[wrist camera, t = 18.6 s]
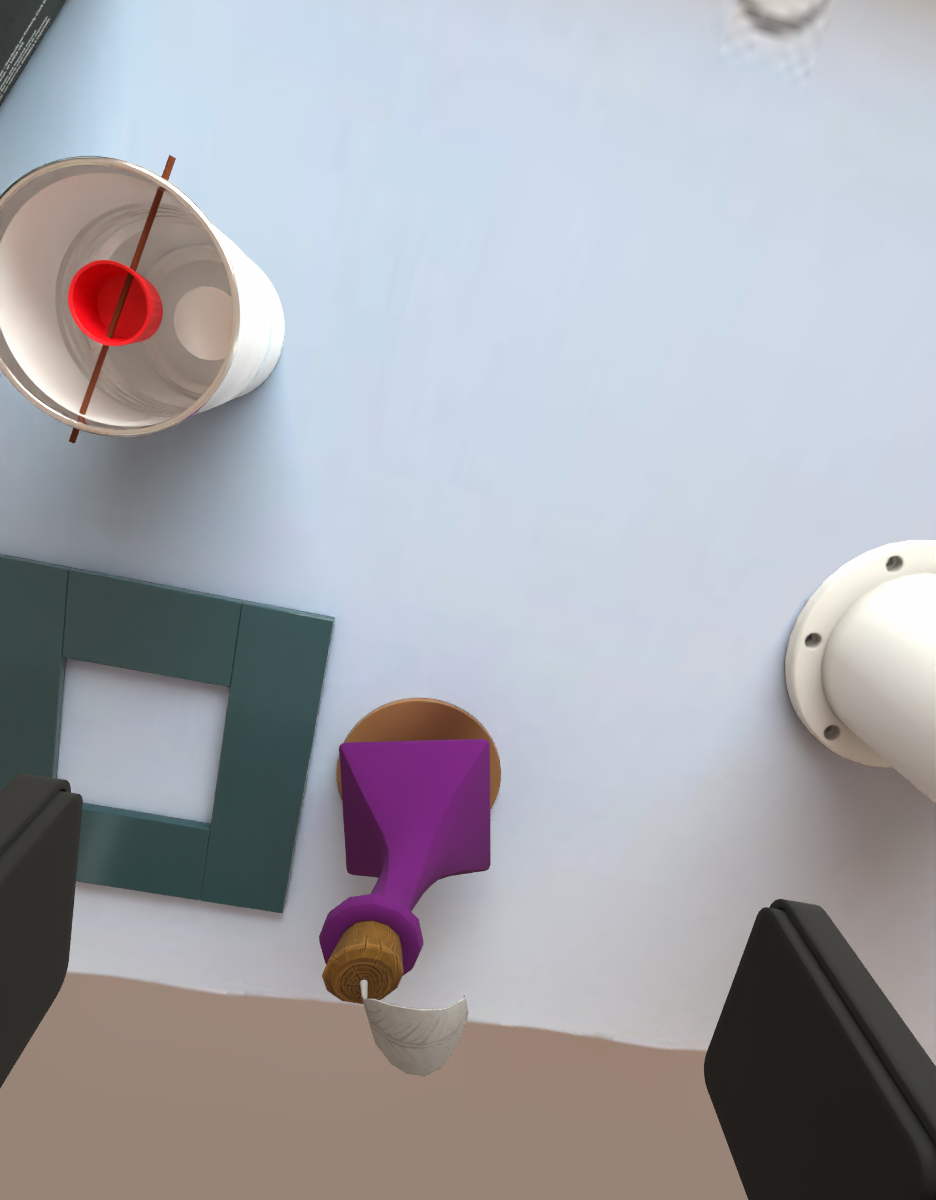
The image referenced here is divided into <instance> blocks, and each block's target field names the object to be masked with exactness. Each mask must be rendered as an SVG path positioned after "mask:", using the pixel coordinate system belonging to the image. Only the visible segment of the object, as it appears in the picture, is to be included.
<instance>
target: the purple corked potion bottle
mask: <svg viewBox="0 0 936 1200" xmlns="http://www.w3.org/2000/svg"><path fill="white" fill-rule="evenodd" d="M339 754H340V769H341V785H342V801H343V817H344V833H345V849H346V865H347V871H348V873H349V874H352V875H359V876H370V877H378V878H379V879H378V881H377V883H376V885H375V887H374V889H373V891H372V893H371V894H369V895H362V896H354V897H349V898H348V899H346V900H345V901H344V902H342V903H341V904H340V905H338V906H337V907H336V908H334V909H333V910H331V911H330V912H329V914H328V915H327V918H326V920H325V923H324V926H323V928H322V931H321V933H320V936H319V939H320V945H321V949H322V952H323V956H324V960H325V963H326V964H327V965H326V967H325V970H324V972H323V975H322V977H323V980H324V983H325V986H326V989H327V991H329V992H330V993H331V994H333V995H334V996H336V997H337V998H339V999H340V1000H342V1001H347V1002H353V1003H359V1004H364V1006H365V1010H366V1013H367V1017H368V1020H369V1023H370V1027H371V1030H372V1034H373V1037H374V1040H375V1043H376V1044H377V1046H378V1047H379V1048H380V1050H381V1051H382V1052H383V1054H384V1055H385V1056H386V1058H387V1059H388V1060H389V1062H390V1063H391V1064H392V1065H394V1066H396V1067H397V1068H399V1069H400V1070H402V1071H404V1072H405V1073H407V1074H413V1075H420V1076H426V1075H428V1074H430V1073H432V1072H434V1071H436V1070H438V1069H440V1068H441V1067H442V1066H443V1065H444V1064H445V1062H446V1061H447V1060H448V1058H449V1057H450V1056H451V1054H452V1052H453V1050H454V1048H455V1046H456V1044H457V1042H458V1040H459V1038H460V1036H461V1034H462V1032H463V1030H464V1028H465V1026H466V1022H467V1016H468V1008H467V1003H466V995H464V998H463V999H462V1000H460V1001H458V1002H456V1003H455V1004H453V1005H451V1006H450V1007H446V1008H441V1009H415V1008H408V1007H402V1006H397V1005H393V1004H388V1003H385V1002H382V1001H379V1000H381V999H383V998H384V997H385V996H387V995H388V994H389V993H391V992H392V991H393V990H395V989H396V988H397V987H398V984H399V982H400V980H401V978H402V976H403V975H405V974H406V973H407V972H409V971H410V970H412V968H413V966H414V964H415V962H416V960H417V958H418V955H419V953H420V951H421V949H422V946H423V937H422V933H421V928H420V924H419V919H418V918H417V917H416V916H415V915H414V914H413V913H412V912H411V911H412V909H413V908H414V907H415V905H416V904H417V902H418V901H419V899H420V898H421V896H422V895H423V893H424V892H425V891H426V890H427V889H428V888H429V887H430V886H431V885H432V884H433V883H435V882H436V881H437V880H439V879H442V878H445V877H448V876H453V875H460V874H466V873H473V872H480V871H485V870H488V869H489V867H490V744H489V742H488V740H485V739H464V740H424V741H385V742H345V743H343V744H341V745H340V748H339Z"/></svg>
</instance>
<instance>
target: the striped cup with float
mask: <svg viewBox="0 0 936 1200" xmlns="http://www.w3.org/2000/svg"><path fill="white" fill-rule="evenodd" d="M175 159H176V158H174V157H172V156H170V155H169V158H168V161H167V163H166V166H165V169H164V172H163V175H162V177H161V176H159V175H157V174H155V173H154V172H152V171H149V170H147V169H145V168H143V167H141V166H138V165H135V164H132V163H129V162H126V161H122V160H118V159H114V158H107V157H99V156H80V157H70V158H65V159H60V160H56V161H53V162H50V163H47V164H44V165H42V166H40V167H38V168H36V169H33V170H32V171H30V172H28V173H27V174H25V175H23V176H22V177H21V178H19V179H18V180H17V181H15V182H14V183H13V184H12V185H11V186H10V187H9V188H8V189H7V190H6V191H5V192H4V193H3V194H2V195H1V196H0V369H1V371H2V372H3V373H4V375H5V376H6V377H7V378H8V380H9V381H10V382H11V383H12V384H13V386H14V387H15V388H16V389H17V390H18V391H19V392H20V393H21V394H22V395H23V396H24V397H25V398H27V399H28V400H29V401H30V402H31V403H32V404H34V405H35V406H36V407H38V408H39V409H40V410H42V411H43V412H45V413H46V414H48V415H49V416H51V417H53V418H54V419H56V420H58V421H60V422H62V423H64V424H66V425H69V426H71V427H73V431H72V434H71V437H70V439H69V441H70V442H72V443H75V442H76V439H77V436H78V433H79V431H80V430H82V431H85V432H88V433H92V434H97V435H102V436H110V437H137V436H144V435H149V434H154V433H157V432H160V431H164V430H166V429H169V428H171V427H173V426H176V425H177V424H179V423H181V422H183V421H185V420H186V419H188V418H189V417H191V416H192V415H193V414H197V413H200V412H203V411H206V410H209V409H211V408H214V407H217V406H219V405H222V404H224V403H225V402H227V401H230V400H232V399H235V398H238V397H241V396H243V395H246V394H247V393H249V392H251V391H253V390H254V389H256V388H257V387H258V386H260V385H261V384H262V383H263V382H264V381H265V380H266V379H267V378H268V377H269V375H270V374H271V373H272V371H273V369H274V368H275V366H276V364H277V362H278V360H279V358H280V355H281V352H282V348H283V344H284V337H285V321H284V314H283V310H282V306H281V303H280V300H279V297H278V295H277V292H276V290H275V288H274V287H273V285H272V283H271V282H270V280H269V279H268V277H267V276H266V275H265V273H264V272H263V271H262V270H261V269H260V268H259V267H258V266H257V265H256V264H255V263H254V262H253V261H251V260H250V259H249V258H248V257H247V256H246V255H245V254H244V253H243V252H242V251H241V250H240V249H239V248H238V247H237V246H236V245H235V244H234V243H233V242H232V241H231V240H230V239H228V238H227V237H226V236H225V235H224V234H223V233H221V232H220V231H219V230H218V229H217V228H216V227H214V226H213V225H212V224H211V222H210V221H209V220H208V218H207V217H206V216H205V215H204V213H203V212H202V211H201V210H200V209H199V207H198V206H197V205H196V204H195V203H194V202H193V201H192V200H191V199H190V198H189V197H188V196H186V195H185V194H184V193H183V192H182V191H181V190H179V189H178V188H177V187H176V186H174V185H173V184H171V183H170V182H169V181H168V179H169V176H170V173H171V170H172V168H173V165H174V162H175Z"/></svg>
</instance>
